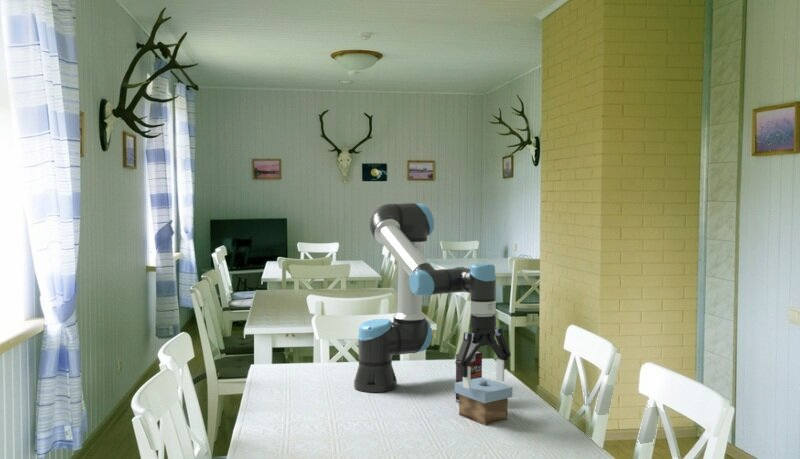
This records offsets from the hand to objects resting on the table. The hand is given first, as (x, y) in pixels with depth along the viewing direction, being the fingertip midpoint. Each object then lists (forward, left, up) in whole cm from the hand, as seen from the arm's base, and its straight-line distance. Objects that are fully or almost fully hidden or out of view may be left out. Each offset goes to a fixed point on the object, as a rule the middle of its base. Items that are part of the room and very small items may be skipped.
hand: (483, 384), depth 219 cm
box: (0, 0, -10) cm, 10 cm away
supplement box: (-16, +8, -11) cm, 21 cm away
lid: (0, 0, -4) cm, 4 cm away
